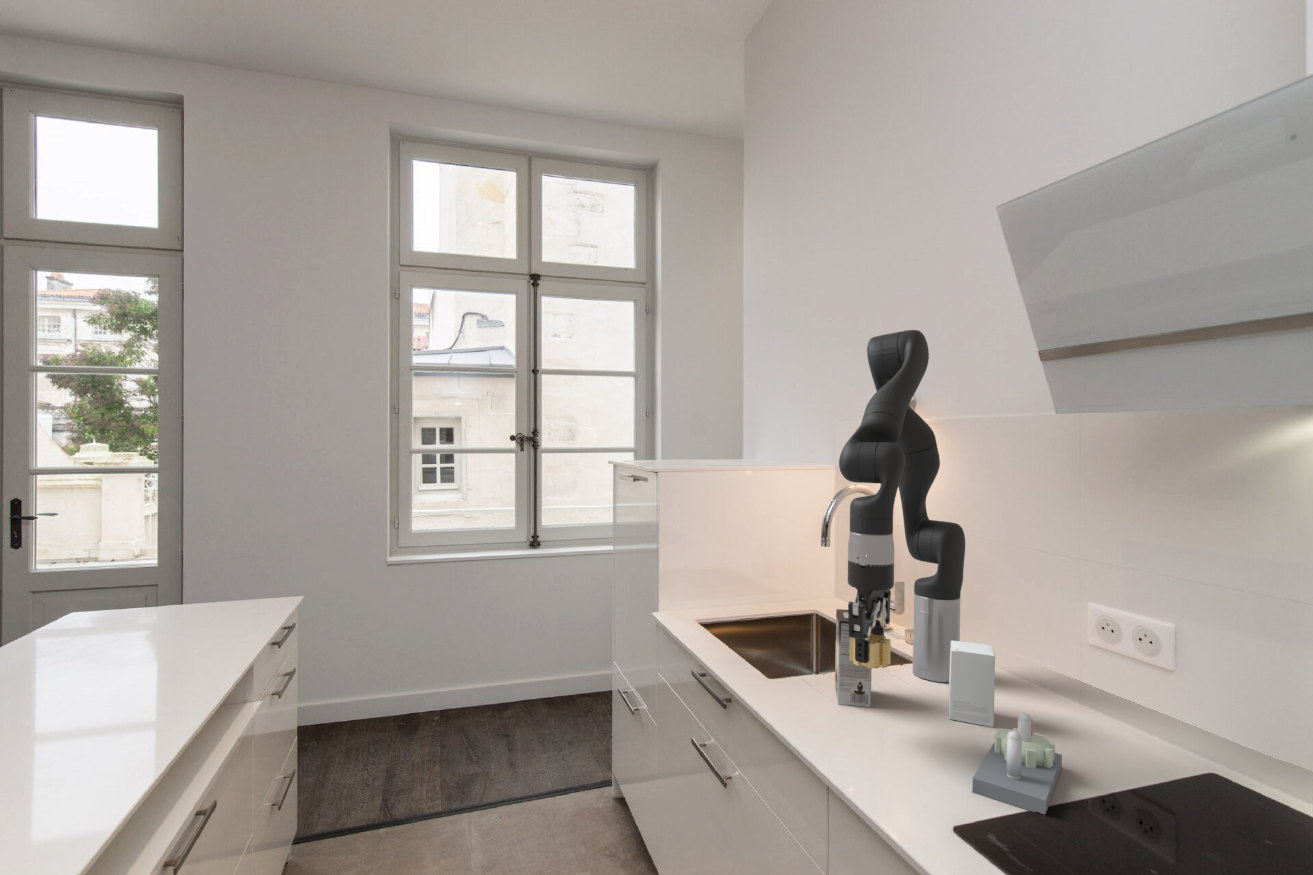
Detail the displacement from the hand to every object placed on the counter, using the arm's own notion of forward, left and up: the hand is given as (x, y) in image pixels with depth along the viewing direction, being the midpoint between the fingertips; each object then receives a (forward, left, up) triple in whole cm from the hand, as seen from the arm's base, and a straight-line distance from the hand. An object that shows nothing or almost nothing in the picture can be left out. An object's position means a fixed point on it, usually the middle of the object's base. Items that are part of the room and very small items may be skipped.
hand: (869, 655), depth 111 cm
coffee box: (-14, -8, -13) cm, 21 cm away
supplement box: (-20, +12, -13) cm, 27 cm away
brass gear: (0, 0, -1) cm, 1 cm away
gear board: (0, +23, -13) cm, 26 cm away
